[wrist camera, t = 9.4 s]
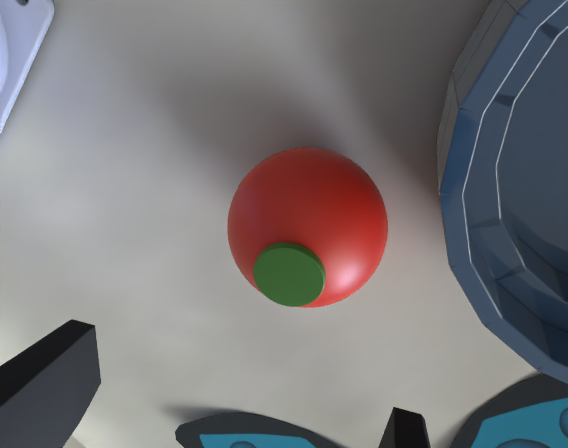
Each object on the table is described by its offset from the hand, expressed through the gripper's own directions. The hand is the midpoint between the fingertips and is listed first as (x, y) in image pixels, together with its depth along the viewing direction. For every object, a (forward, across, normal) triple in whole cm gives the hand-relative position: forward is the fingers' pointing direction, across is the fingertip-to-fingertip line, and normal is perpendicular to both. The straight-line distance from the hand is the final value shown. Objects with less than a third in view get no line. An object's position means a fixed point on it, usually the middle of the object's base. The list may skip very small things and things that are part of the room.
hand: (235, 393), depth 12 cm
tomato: (+8, 0, -1) cm, 8 cm away
